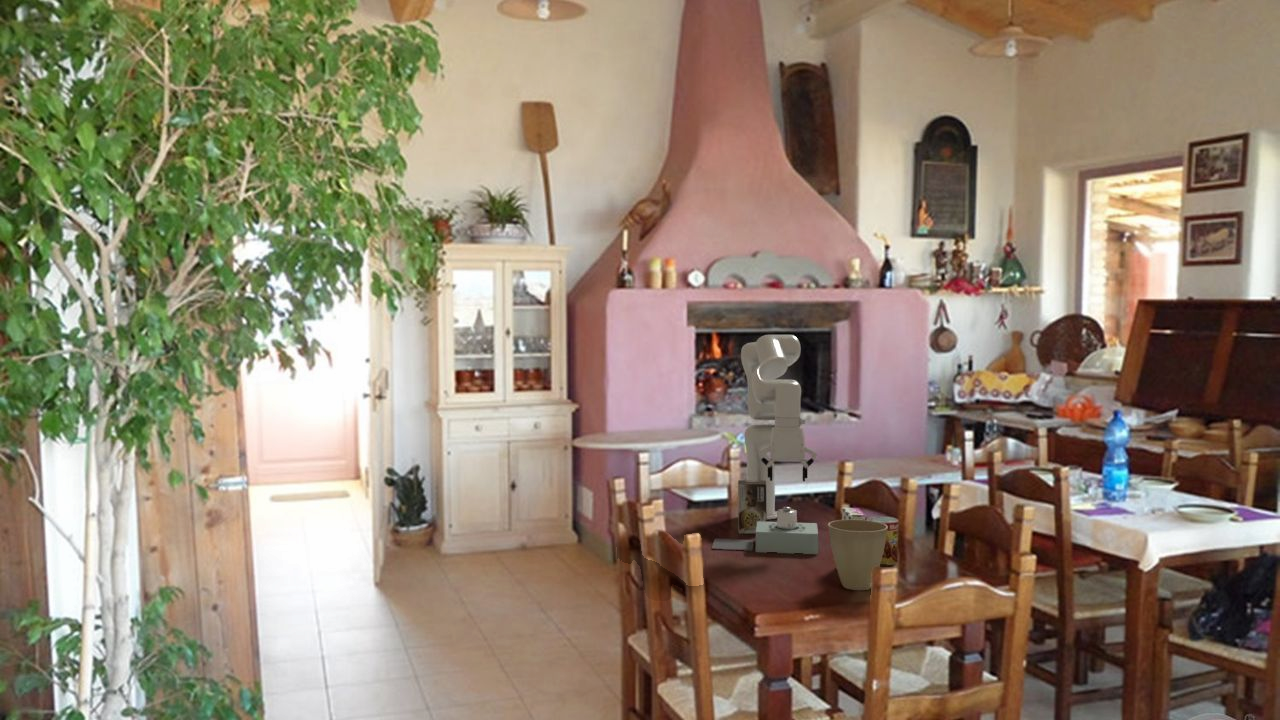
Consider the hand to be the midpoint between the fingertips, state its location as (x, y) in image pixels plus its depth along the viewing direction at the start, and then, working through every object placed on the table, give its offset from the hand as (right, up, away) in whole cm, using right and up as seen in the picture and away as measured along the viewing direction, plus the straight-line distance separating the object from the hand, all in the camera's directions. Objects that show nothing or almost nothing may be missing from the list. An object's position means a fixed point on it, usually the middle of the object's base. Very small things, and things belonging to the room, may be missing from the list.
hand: (787, 480), depth 283 cm
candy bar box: (+14, -22, -24) cm, 35 cm away
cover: (0, -18, +1) cm, 18 cm away
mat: (-16, -20, +4) cm, 26 cm away
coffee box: (-8, -19, +22) cm, 30 cm away
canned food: (+25, -21, -15) cm, 36 cm away
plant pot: (+12, -23, -39) cm, 46 cm away
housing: (0, -20, +1) cm, 20 cm away
